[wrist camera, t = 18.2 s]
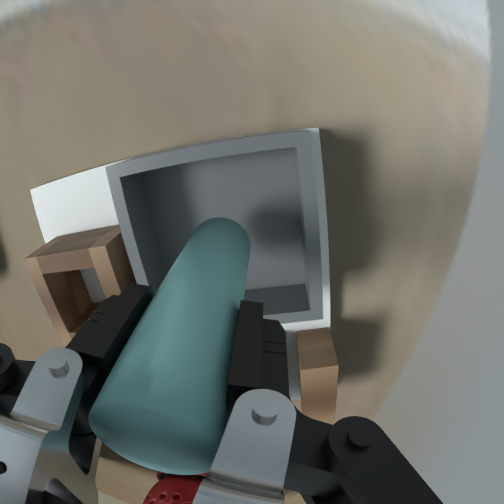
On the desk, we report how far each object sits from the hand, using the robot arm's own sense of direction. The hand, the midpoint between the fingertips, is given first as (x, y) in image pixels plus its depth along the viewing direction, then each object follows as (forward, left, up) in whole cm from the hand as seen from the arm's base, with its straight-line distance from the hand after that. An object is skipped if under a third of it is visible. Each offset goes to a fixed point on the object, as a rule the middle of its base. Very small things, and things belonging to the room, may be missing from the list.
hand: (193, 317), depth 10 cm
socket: (+2, -10, -9) cm, 14 cm away
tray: (0, 0, -9) cm, 9 cm away
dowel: (0, 0, -6) cm, 6 cm away
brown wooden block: (+12, +5, -9) cm, 16 cm away
